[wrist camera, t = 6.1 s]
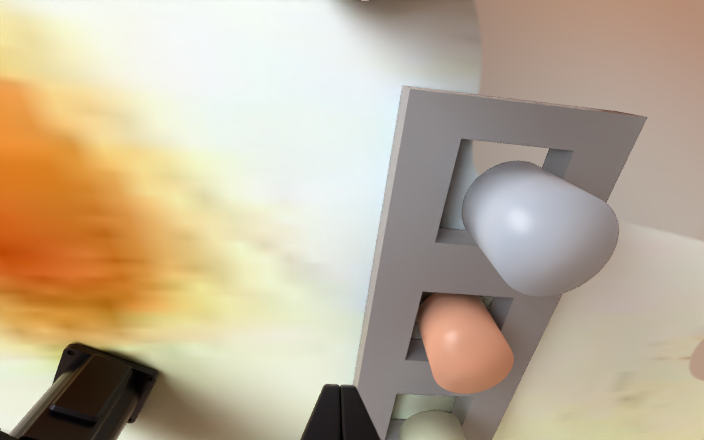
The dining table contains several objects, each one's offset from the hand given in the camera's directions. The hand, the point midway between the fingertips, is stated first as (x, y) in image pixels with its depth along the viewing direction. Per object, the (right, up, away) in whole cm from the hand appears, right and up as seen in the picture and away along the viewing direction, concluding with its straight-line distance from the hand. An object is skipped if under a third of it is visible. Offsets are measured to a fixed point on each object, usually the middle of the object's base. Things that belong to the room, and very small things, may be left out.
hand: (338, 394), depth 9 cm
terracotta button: (+7, -2, +15) cm, 17 cm away
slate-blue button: (+8, +5, +8) cm, 13 cm away
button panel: (+7, -2, +15) cm, 17 cm away
